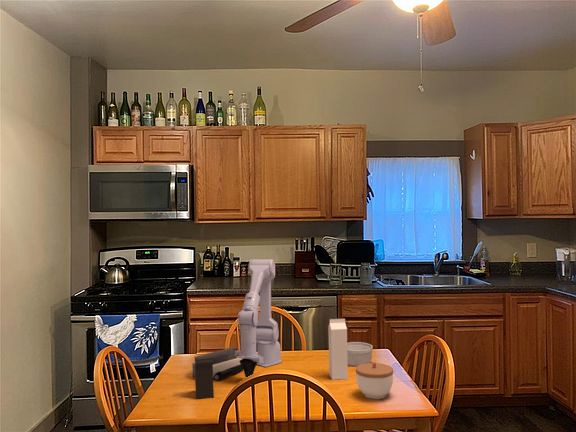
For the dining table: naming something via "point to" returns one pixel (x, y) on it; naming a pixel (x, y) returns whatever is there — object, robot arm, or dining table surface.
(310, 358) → the dining table surface
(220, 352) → the tester frame
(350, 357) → the ramekin
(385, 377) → the lidded bowl
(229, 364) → the pad
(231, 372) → the electric trimmer
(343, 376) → the milk
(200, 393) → the phone stand
